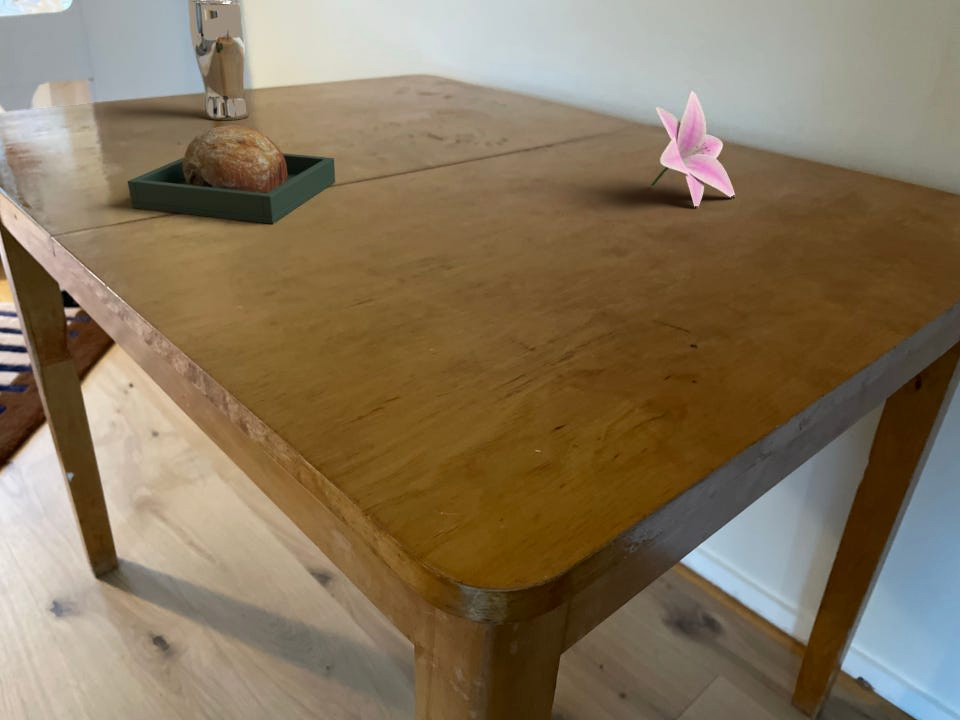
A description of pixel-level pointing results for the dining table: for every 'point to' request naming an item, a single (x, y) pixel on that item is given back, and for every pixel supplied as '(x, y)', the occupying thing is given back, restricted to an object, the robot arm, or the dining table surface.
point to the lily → (693, 151)
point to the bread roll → (234, 160)
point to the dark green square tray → (232, 192)
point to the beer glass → (220, 56)
